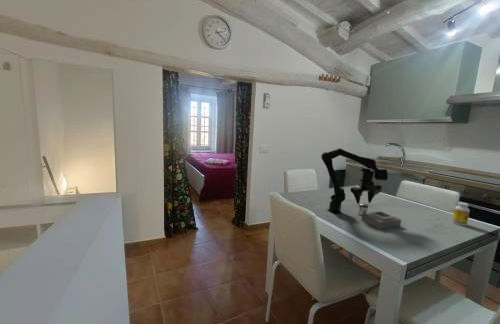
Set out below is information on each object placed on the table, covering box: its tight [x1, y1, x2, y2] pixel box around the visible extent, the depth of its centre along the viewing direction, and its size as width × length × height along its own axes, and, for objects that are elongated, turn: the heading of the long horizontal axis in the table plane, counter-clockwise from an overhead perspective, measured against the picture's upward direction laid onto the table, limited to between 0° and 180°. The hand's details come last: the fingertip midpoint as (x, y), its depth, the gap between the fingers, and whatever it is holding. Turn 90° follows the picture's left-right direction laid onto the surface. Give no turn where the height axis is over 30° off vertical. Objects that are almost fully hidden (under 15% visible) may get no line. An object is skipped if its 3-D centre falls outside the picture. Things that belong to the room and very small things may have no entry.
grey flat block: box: [361, 211, 402, 230], centre depth 131 cm, size 16×12×6 cm
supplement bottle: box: [451, 201, 471, 227], centre depth 137 cm, size 7×7×13 cm
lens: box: [357, 202, 369, 217], centre depth 143 cm, size 5×5×7 cm
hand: (363, 203), depth 142 cm, fingers open, 9 cm apart
